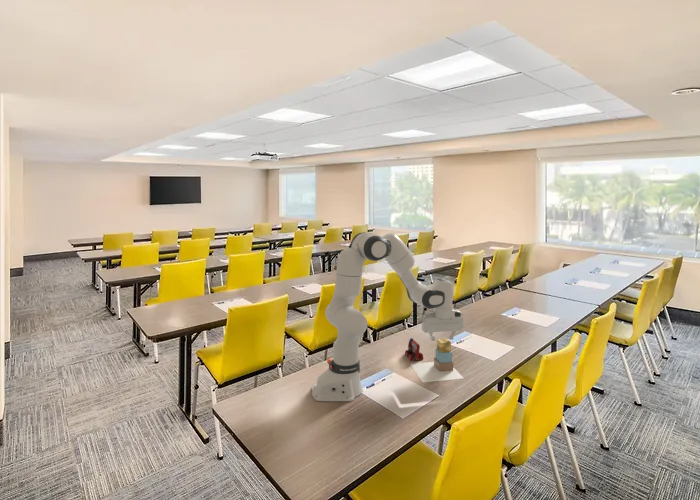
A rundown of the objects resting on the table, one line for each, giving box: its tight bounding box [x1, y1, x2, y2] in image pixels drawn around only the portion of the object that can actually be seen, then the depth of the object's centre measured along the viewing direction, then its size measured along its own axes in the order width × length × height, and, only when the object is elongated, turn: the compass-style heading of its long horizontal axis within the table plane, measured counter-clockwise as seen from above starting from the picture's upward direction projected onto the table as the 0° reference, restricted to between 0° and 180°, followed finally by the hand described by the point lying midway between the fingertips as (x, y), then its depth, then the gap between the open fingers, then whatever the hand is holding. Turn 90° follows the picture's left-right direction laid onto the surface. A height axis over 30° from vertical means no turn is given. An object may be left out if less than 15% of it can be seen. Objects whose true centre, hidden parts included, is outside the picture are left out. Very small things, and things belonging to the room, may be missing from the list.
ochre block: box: [436, 337, 452, 353], centre depth 188 cm, size 5×5×5 cm
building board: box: [409, 357, 464, 384], centre depth 186 cm, size 20×19×5 cm
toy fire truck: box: [404, 338, 424, 362], centre depth 202 cm, size 7×12×10 cm, turn 12°
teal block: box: [434, 347, 453, 363], centre depth 189 cm, size 6×6×5 cm
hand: (441, 339), depth 187 cm, fingers open, 8 cm apart
